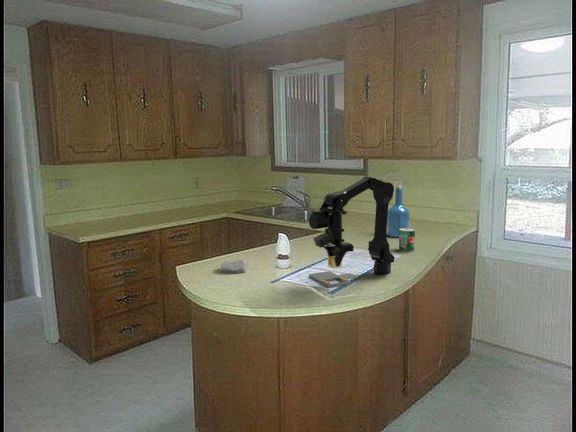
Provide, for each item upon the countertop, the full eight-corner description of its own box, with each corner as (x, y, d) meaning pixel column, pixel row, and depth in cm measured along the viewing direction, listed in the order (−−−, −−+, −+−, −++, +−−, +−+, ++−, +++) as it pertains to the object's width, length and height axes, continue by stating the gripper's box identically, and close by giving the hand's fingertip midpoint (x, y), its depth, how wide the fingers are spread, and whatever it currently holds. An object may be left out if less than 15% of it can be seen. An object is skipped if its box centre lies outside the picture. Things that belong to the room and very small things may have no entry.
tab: (350, 275, 201) (350, 272, 201) (359, 279, 195) (359, 277, 194) (337, 277, 198) (337, 274, 198) (346, 281, 192) (346, 279, 192)
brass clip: (336, 264, 189) (336, 254, 188) (341, 267, 185) (341, 257, 184) (327, 266, 187) (327, 256, 186) (332, 268, 183) (332, 258, 183)
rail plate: (329, 275, 201) (329, 270, 200) (350, 286, 186) (350, 281, 185) (308, 278, 197) (308, 273, 196) (328, 290, 181) (328, 284, 181)
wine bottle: (412, 238, 274) (413, 186, 269) (389, 238, 274) (389, 186, 269) (406, 233, 287) (407, 184, 283) (384, 233, 288) (385, 184, 283)
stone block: (246, 277, 208) (247, 267, 217) (245, 267, 206) (246, 257, 215) (219, 278, 208) (222, 268, 217) (218, 269, 206) (221, 259, 215)
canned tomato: (414, 252, 240) (415, 230, 238) (399, 251, 241) (399, 230, 239) (414, 248, 247) (414, 228, 245) (398, 248, 249) (398, 227, 247)
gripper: (305, 224, 188) (306, 262, 191) (328, 232, 172) (328, 273, 174) (329, 221, 193) (330, 259, 196) (354, 229, 176) (354, 269, 179)
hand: (334, 265), depth 186 cm, fingers closed on brass clip, 4 cm apart
